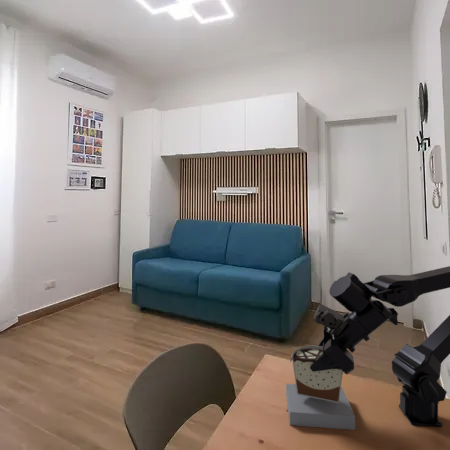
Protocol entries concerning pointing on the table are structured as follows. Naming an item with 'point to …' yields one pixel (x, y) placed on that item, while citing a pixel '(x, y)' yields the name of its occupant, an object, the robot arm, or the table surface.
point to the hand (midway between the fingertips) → (312, 362)
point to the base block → (319, 411)
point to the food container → (315, 375)
